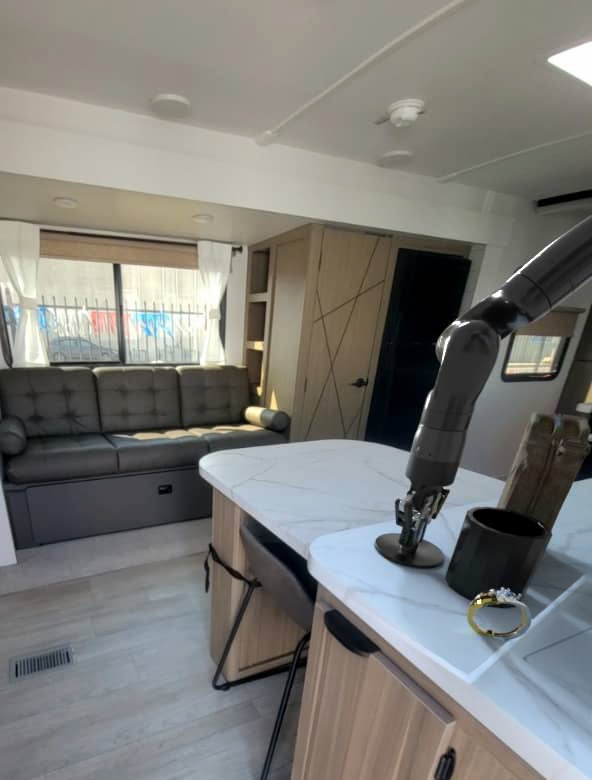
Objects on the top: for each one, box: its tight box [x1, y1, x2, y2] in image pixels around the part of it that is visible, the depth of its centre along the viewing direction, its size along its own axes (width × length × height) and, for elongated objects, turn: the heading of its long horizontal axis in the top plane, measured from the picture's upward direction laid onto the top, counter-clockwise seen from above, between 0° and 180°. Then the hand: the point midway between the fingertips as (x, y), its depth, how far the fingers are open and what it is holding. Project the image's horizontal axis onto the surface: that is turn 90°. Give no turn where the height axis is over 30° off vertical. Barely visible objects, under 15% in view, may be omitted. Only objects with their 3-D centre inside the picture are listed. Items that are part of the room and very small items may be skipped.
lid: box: [374, 517, 445, 570], centre depth 74 cm, size 12×12×7 cm
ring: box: [466, 587, 532, 642], centre depth 54 cm, size 7×3×8 cm, turn 62°
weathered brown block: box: [495, 411, 592, 531], centre depth 72 cm, size 19×8×25 cm, turn 143°
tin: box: [444, 506, 553, 610], centre depth 63 cm, size 11×11×12 cm
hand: (410, 542), depth 74 cm, fingers closed on lid, 3 cm apart
